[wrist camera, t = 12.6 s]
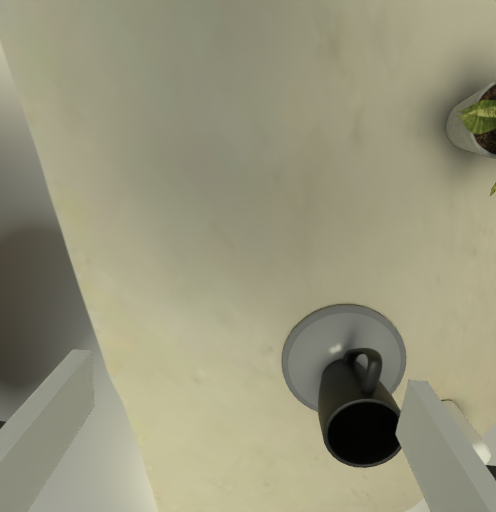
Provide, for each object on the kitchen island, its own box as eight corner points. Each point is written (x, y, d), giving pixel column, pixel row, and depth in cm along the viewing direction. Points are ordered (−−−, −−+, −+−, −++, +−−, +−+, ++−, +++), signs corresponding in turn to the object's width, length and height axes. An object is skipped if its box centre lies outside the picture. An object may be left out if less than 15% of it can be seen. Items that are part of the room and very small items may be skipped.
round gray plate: (291, 296, 44) (292, 299, 43) (416, 312, 44) (419, 315, 43) (274, 404, 48) (274, 408, 47) (388, 418, 48) (391, 423, 47)
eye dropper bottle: (455, 427, 48) (517, 514, 36) (411, 429, 48) (459, 515, 37) (458, 398, 47) (523, 478, 35) (413, 400, 47) (463, 480, 36)
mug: (391, 324, 43) (426, 369, 34) (369, 410, 47) (396, 473, 37) (322, 315, 43) (339, 358, 34) (305, 402, 47) (316, 463, 37)
